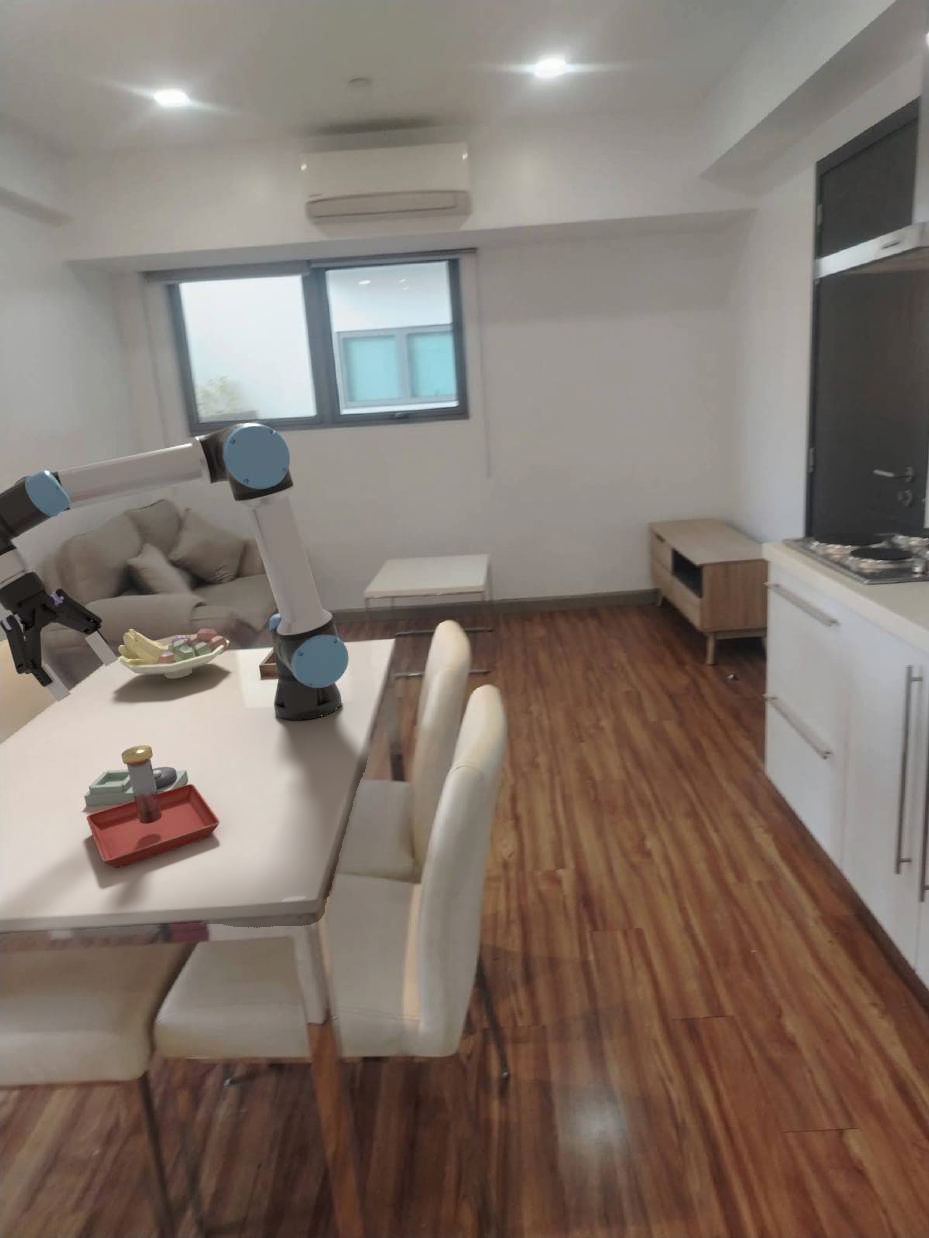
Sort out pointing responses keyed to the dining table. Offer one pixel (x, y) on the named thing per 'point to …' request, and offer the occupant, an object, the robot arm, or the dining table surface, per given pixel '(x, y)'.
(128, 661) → the dish with food
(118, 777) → the base
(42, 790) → the dining table surface
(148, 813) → the pin
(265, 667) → the wooden tray
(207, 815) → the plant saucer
